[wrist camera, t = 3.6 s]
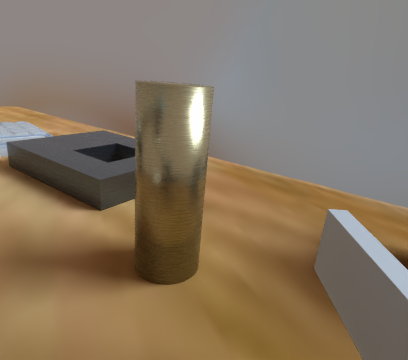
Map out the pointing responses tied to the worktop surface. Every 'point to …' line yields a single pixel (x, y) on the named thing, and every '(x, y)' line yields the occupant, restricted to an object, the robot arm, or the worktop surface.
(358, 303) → the robot arm
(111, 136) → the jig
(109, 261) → the worktop surface
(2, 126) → the calculator
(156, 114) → the brushed metal cylinder
